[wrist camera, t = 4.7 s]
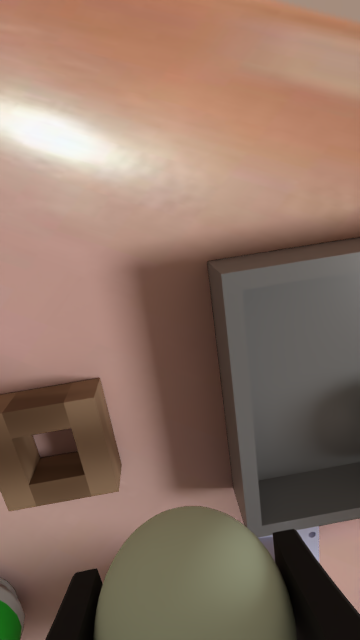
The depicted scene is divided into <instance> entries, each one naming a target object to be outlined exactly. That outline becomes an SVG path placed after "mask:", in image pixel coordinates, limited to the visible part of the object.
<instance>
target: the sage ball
mask: <svg viewBox="0 0 360 640" xmlns="http://www.w3.org/2000/svg"><path fill="white" fill-rule="evenodd" d="M94 640H297V632H296V624H295V618H294V612H293V607H292V603H291V599H290V596H289V593H288V590H287V587H286V584H285V582H284V579H283V577H282V575H281V572H280V570H279V568H278V566H277V565H276V563H275V561H274V560H273V558H272V556H271V555H270V553H269V551H268V550H267V549H266V547H265V546H264V545H263V543H262V542H261V541H260V540H259V539H258V538H257V536H256V535H255V534H254V533H253V532H251V531H250V530H249V529H248V528H247V527H246V526H245V525H243V524H242V523H241V522H239V521H238V520H236V519H234V518H233V517H231V516H229V515H228V514H225V513H223V512H220V511H218V510H215V509H211V508H207V507H201V506H185V507H178V508H174V509H170V510H167V511H164V512H162V513H160V514H158V515H156V516H154V517H152V518H151V519H149V520H148V521H146V522H145V523H144V524H142V525H141V526H140V527H139V528H137V529H136V530H135V531H134V532H133V534H132V535H131V536H130V537H129V538H128V539H127V540H126V541H125V543H124V544H123V545H122V547H121V548H120V550H119V551H118V553H117V554H116V556H115V558H114V560H113V561H112V563H111V565H110V567H109V570H108V572H107V574H106V576H105V579H104V582H103V585H102V589H101V592H100V595H99V599H98V604H97V609H96V616H95V624H94Z"/></svg>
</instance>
